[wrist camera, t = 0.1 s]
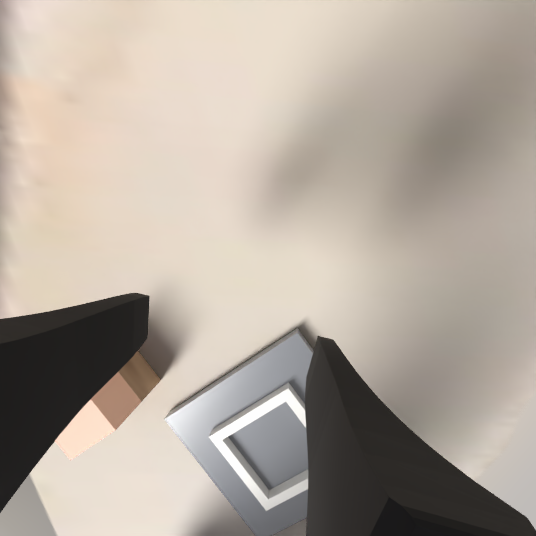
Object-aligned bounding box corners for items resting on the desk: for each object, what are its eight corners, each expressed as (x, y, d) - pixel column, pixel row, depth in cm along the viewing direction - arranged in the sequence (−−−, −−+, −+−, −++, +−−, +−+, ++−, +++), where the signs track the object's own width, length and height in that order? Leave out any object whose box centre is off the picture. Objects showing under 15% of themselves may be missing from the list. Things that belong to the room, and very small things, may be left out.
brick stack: (125, 404, 24) (70, 460, 18) (95, 366, 24) (30, 410, 18) (161, 379, 23) (115, 430, 17) (130, 340, 23) (74, 378, 17)
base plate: (261, 528, 24) (258, 552, 23) (169, 411, 24) (159, 426, 22) (394, 460, 22) (402, 480, 20) (297, 327, 21) (297, 336, 20)
